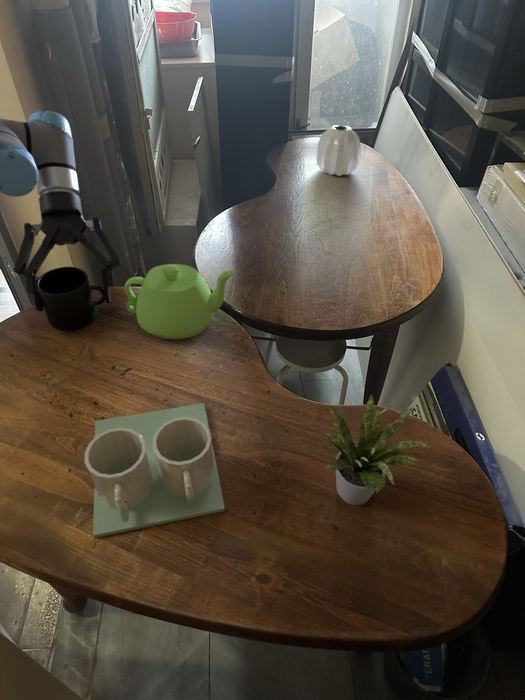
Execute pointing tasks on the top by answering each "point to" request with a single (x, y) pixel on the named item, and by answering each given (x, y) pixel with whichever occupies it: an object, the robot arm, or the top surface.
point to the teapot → (175, 301)
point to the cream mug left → (111, 453)
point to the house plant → (367, 455)
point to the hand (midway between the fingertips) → (74, 306)
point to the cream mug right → (180, 440)
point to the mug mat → (155, 478)
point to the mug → (68, 298)
